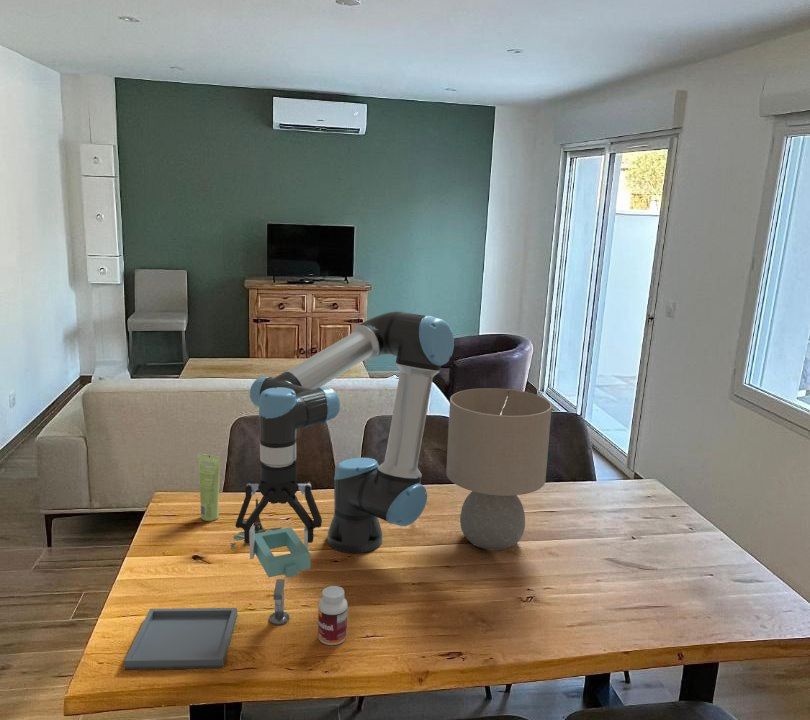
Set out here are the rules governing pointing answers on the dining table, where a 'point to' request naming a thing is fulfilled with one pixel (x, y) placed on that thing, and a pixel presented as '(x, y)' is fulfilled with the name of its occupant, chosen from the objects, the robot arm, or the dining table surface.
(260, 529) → the eiffel tower figurine
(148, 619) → the tray
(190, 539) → the dining table surface
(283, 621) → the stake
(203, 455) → the tube
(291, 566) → the ring frame
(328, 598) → the pill bottle
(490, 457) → the lamp
